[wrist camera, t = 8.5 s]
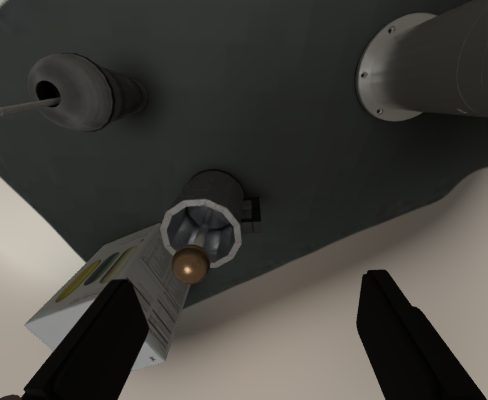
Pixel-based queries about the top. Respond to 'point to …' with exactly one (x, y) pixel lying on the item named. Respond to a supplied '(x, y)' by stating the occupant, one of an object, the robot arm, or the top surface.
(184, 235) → the carafe
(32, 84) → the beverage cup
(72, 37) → the top surface
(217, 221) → the plunger
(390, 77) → the robot arm
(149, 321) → the supplement box
